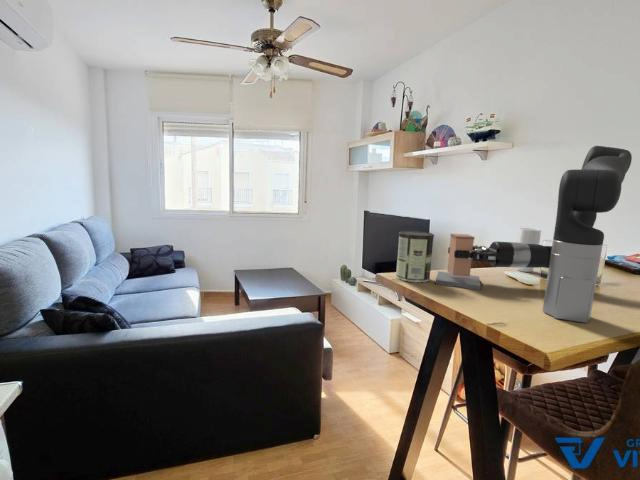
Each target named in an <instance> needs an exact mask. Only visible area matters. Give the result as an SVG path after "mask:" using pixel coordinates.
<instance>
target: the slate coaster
mask: <svg viewBox="0 0 640 480" xmlns="http://www.w3.org/2000/svg"><path fill="white" fill-rule="evenodd" d="M435 277H436V278H435V283H436V285H440V284H442V285H441V286H448V285H449V286H448V287H455V286H457V288H462V287H463V289H470V290H478V291H479V290H481V283H480V277H479V276H477V275H471V274H470V276H454V275H451V274H450V273H449V272H448V271H439V270H438V272H437V274H436V276H435ZM435 283H434V284H435Z"/></svg>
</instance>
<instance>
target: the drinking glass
mask: <svg viewBox="0 0 640 480" xmlns="http://www.w3.org/2000/svg"><path fill="white" fill-rule="evenodd" d="M541 233H542V230H541V229H539V228H529V227H520V228H518V233H517V243H523V244H538V245H540V241H541ZM515 269H516V270H517V271H519V272H523V273H524V272H525V273H532V272H533V271H534V268H531V267H519V268H515Z"/></svg>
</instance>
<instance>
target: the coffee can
mask: <svg viewBox="0 0 640 480" xmlns="http://www.w3.org/2000/svg"><path fill="white" fill-rule="evenodd" d="M434 237H435V234H434V233H431V232H425V231H419V230H417V231H415V230H402V231H399V232H398V246H397V249H398V250H397V258H396V259H397V261H396V271H395V272H396V273H395V277H396V276H397V277H398V278H399V279H398V278H397V279H398V280H400V279H401V280H400V281H403V282H407V281H408V282H407V283H417V282H418V283H419V284H420V283H421V282H423V283H428V282H430V278H431V277H430V276H431V267H432V256H433V246H434V245H433V244H434ZM427 281H428V282H427Z"/></svg>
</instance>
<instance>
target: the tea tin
mask: <svg viewBox="0 0 640 480" xmlns="http://www.w3.org/2000/svg"><path fill="white" fill-rule="evenodd" d="M449 240H450V241H449V247H450V251H449V253H448V259H447V260H448V262H447V271H446V272H448V273H450V274H451V275H454V276H470V275H471V271H472V270H471V269H472V261H473V260H472V259H471V260H469V259H468V257H467V258H455V257H454V251H455V250H465V251H468V252H469V250H473V246H474V240H475V236H473V235H471V234H465V233H450V239H449Z"/></svg>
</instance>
